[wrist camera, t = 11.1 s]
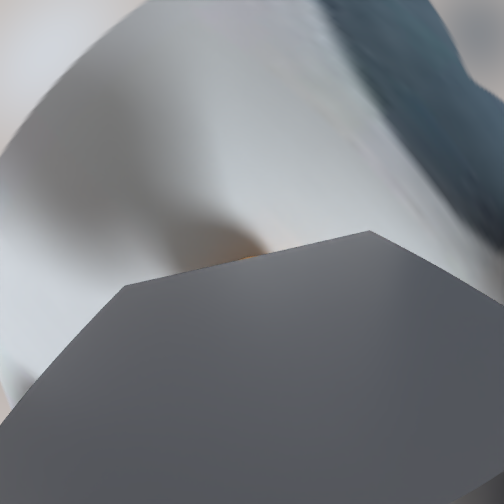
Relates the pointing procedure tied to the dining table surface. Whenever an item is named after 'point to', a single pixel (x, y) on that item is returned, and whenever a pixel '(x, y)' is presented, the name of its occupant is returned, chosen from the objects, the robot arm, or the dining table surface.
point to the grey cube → (273, 388)
